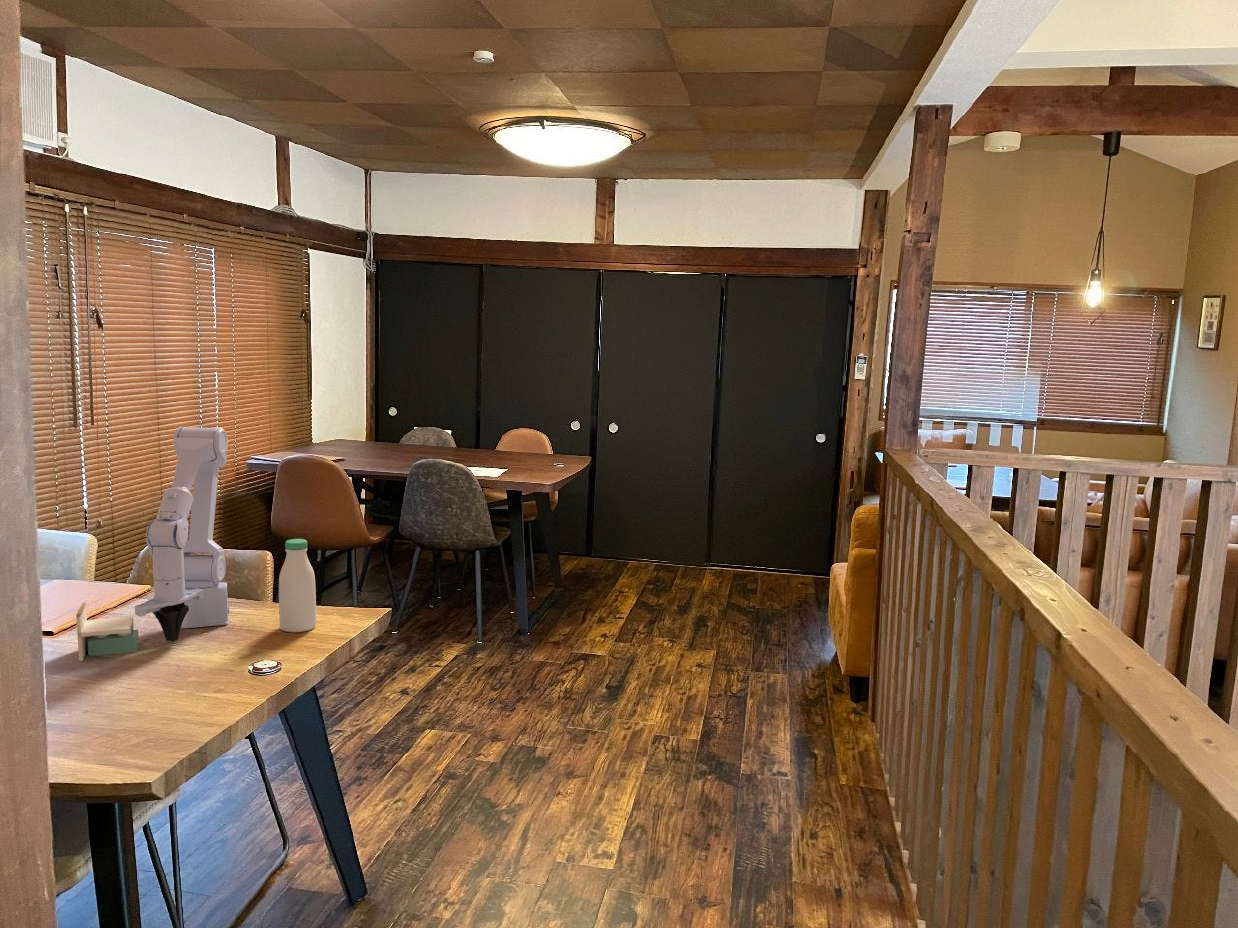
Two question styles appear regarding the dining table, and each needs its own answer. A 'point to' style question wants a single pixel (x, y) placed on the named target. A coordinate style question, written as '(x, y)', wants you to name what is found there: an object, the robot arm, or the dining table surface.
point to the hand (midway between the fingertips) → (172, 640)
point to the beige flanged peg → (98, 628)
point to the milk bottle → (297, 589)
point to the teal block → (113, 643)
